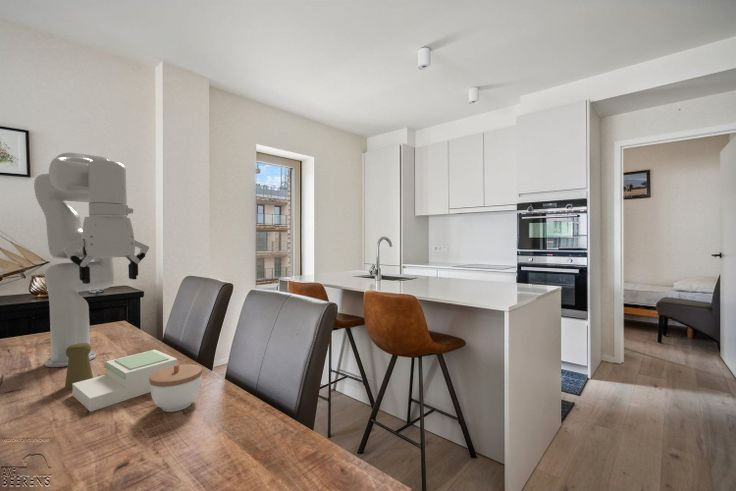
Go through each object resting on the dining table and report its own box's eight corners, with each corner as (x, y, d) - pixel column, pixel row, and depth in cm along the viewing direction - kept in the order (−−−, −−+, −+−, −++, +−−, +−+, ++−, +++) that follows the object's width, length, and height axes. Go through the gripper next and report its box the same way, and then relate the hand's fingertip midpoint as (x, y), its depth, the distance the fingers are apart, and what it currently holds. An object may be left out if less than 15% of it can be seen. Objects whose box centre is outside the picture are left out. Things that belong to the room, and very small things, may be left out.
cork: (77, 390, 90) (76, 347, 90) (58, 388, 91) (57, 346, 91) (99, 380, 96) (98, 341, 96) (81, 379, 97) (80, 340, 97)
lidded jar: (176, 420, 74) (175, 376, 74) (138, 413, 77) (137, 371, 77) (212, 397, 85) (211, 359, 84) (177, 392, 88) (176, 355, 87)
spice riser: (72, 395, 87) (71, 368, 87) (155, 371, 102) (155, 348, 102) (90, 411, 78) (89, 381, 78) (178, 383, 94) (177, 357, 93)
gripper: (141, 214, 95) (143, 276, 95) (58, 210, 81) (60, 284, 82) (153, 212, 91) (155, 278, 91) (67, 208, 77) (70, 286, 77)
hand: (110, 281), depth 86 cm, fingers open, 9 cm apart
